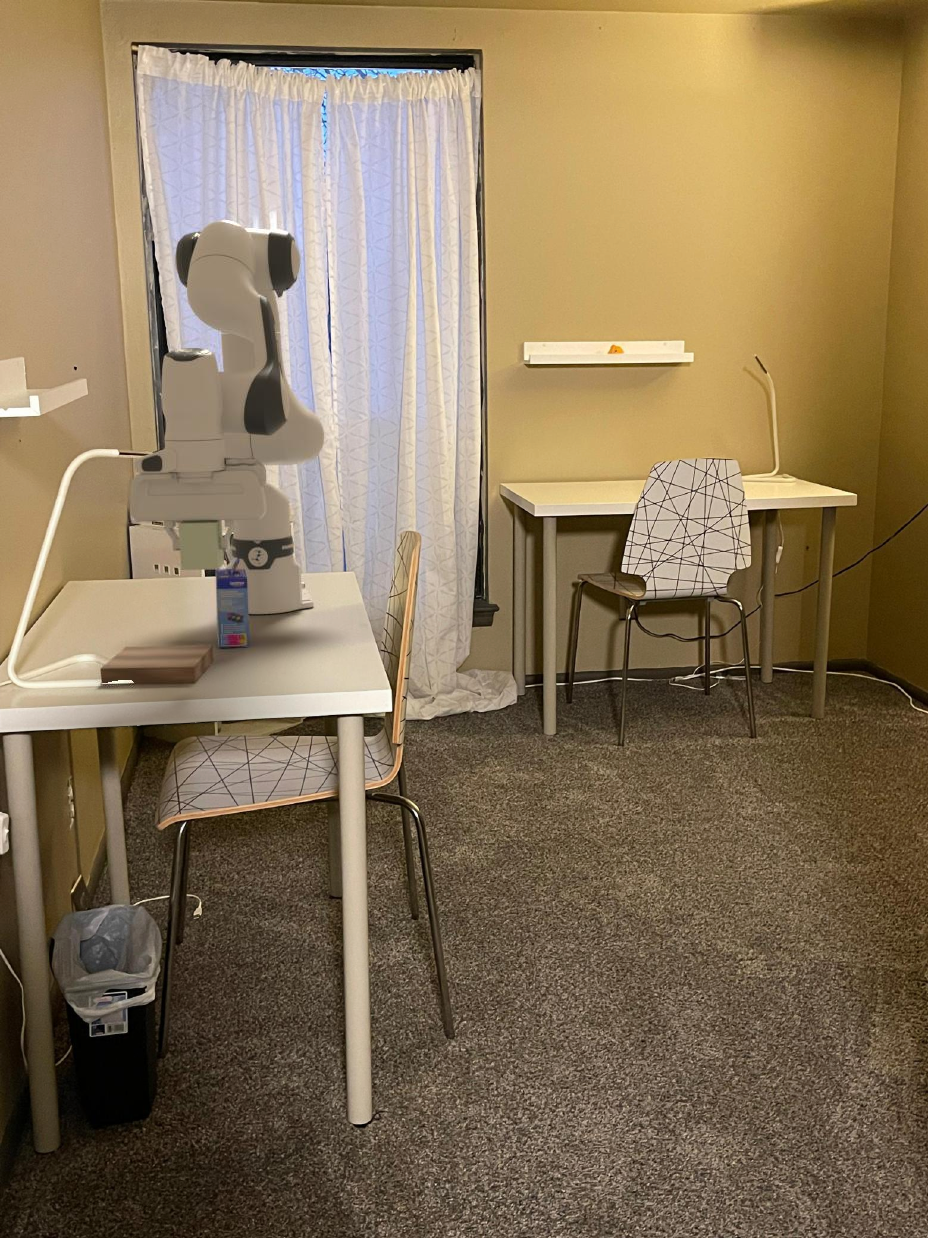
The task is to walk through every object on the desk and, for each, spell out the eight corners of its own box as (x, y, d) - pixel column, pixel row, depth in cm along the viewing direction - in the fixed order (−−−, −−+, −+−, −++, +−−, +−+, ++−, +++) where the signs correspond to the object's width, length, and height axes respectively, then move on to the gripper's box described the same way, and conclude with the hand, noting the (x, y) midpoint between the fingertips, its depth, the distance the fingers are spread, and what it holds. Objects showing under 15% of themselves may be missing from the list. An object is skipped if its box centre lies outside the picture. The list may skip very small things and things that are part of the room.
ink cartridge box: (251, 647, 197) (247, 563, 194) (218, 649, 195) (213, 564, 192) (249, 634, 206) (244, 554, 203) (217, 636, 205) (212, 555, 202)
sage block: (188, 564, 181) (185, 519, 179) (224, 563, 181) (221, 518, 179) (181, 569, 175) (178, 523, 174) (217, 569, 175) (215, 523, 174)
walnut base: (127, 661, 188) (125, 646, 187) (213, 660, 188) (212, 645, 188) (101, 684, 174) (100, 668, 174) (195, 682, 174) (193, 666, 174)
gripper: (267, 455, 178) (272, 545, 181) (133, 458, 177) (140, 547, 180) (262, 458, 172) (267, 551, 175) (123, 461, 171) (130, 554, 174)
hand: (201, 549), depth 178 cm, fingers closed on sage block, 5 cm apart
